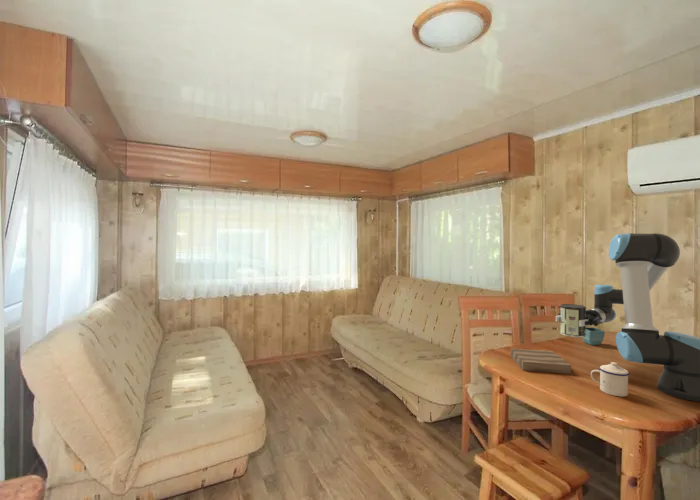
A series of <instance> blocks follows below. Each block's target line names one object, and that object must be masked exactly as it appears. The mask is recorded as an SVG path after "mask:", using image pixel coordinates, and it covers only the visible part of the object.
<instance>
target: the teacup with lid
mask: <svg viewBox="0 0 700 500" xmlns="http://www.w3.org/2000/svg"><path fill="white" fill-rule="evenodd" d="M593 373H599V380H598V379H596V378H595V377H594V375H593ZM629 375H630V373H629V371H628V370H627V369H625V368H623V367H622V366H619V365H618V363H617V362H614V361H613V362H612V361H611V362H610V363H609V364H602V365H600V366H599V369H593V370H591V371H590V378H591V379H592V380H593V381H594V382H596V383H598V384H599V390H600V391H601V392H603V393H604V394H607V395H611V396H615V397H620V398H621V397H627V396H628V394H629V392H628V391H629Z"/></svg>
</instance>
